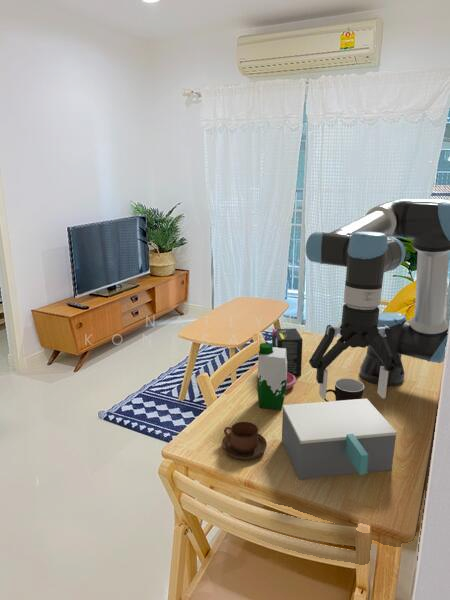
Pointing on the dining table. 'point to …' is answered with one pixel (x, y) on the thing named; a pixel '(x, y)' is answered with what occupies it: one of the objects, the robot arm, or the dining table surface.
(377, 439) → the carton
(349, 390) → the coffee mug
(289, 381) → the saucer
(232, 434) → the cup and saucer
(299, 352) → the tampon box
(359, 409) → the carton lid
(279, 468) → the dining table surface
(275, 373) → the milk carton
